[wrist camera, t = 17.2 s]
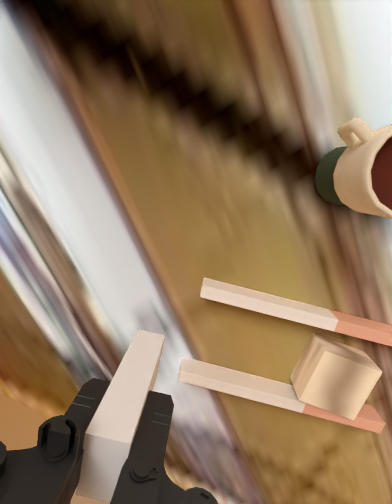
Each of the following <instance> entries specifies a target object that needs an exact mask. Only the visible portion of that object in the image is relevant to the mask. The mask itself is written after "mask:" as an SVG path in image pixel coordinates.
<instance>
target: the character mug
mask: <svg viewBox="0 0 392 504" xmlns="http://www.w3.org/2000/svg"><path fill="white" fill-rule="evenodd" d="M337 132H338V134H339V135H340V137H341V138H342V139H343V141H344V142H345V143H346V144H347V145H348V147H340V148H335V149H334V150H332V151H331V152H329V153H328V154H326V155H325V156H324V158H323V159H322V160H321V162H320V163H319V165H318V166H317V170H316V175H315V179H314V180H315V184H316V189H317V192H318V193H319V194H320V195H321V196H322V197H323V199H324V200H325V201H328V202H331V203H333V204H336V205H347V206H348V207H350V208H351V209H353V210H354V211H356V212H361V213H366V214H371V215H377V216H382V217H387V218H392V124H391V125H388V126H385V127H382V128H379V129H376V130H374V131H372V130H371V129H370V127H369V126H368V125H367V124H366V123H365V122H364V121H363V120H362V119H360V118H354V119H352V120H350V121H348V122H346V123H343V124H341V125H340V127H339V129H338V131H337Z"/></svg>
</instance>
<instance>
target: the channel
mask: <svg viewBox="0 0 392 504" xmlns="http://www.w3.org/2000/svg"><path fill="white" fill-rule="evenodd" d="M200 297H202V298H206V299H210V300H214V301H217V302H221V303H225V304H229V305H233V306H237V307H241V308H245V309H248V310H252V311H256V312H260V313H264V314H268V315H272V316H276V317H280V318H283V319H287V320H291V321H295V322H299V323H303V324H307V325H311V326H314V327H318V328H322V329H326V330H330V331H334V332H338V333H342V334H345V335H349V336H353V337H357V338H361V339H365V340H369V341H373V342H377V343H380V344H384V345H388V346H392V325H388V324H384V323H380V322H377V321H373V320H369V319H365V318H361V317H357V316H353V315H349V314H345V313H341V312H338V311H334V310H330V309H326V308H322V307H318V306H314V305H310V304H306V303H303V302H299V301H295V300H291V299H287V298H283V297H279V296H275V295H271V294H267V293H264V292H260V291H256V290H252V289H248V288H244V287H240V286H236V285H232V284H229V283H225V282H221V281H217V280H213V279H209V278H205V277H204V279H203V283H202V287H201V292H200ZM178 381H182V382H186V383H189V384H193V385H197V386H201V387H205V388H208V389H212V390H216V391H220V392H224V393H228V394H231V395H235V396H239V397H243V398H247V399H250V400H254V401H258V402H262V403H266V404H270V405H273V406H277V407H281V408H285V409H289V410H292V411H296V412H300V413H304V414H308V415H312V416H315V417H319V418H323V419H327V420H331V421H334V422H338V423H342V424H346V425H350V426H354V427H357V428H361V429H365V430H369V431H373V432H376V433H380V434H381V432H382V430H383V428H384V425H385V423H384V421H383V420H382V418H381V417H380V416H379V414H378V413H377V411H376V410H375V409H374V407H373V406H371V405H367V404H363V406H362V407H361V409H360V411H359V413H358V414H357V416H356V418H355V419H354V420H351V419H348V418H346V417H343V416H340V415H338V414H335V413H332V412H329V411H327V410H324V409H321V408H319V407H316V406H313V405H311V404H308V403H305V402H302V401H300V400H299V399H298V397H297V394H296V392H295V389H294V386H293V385H290V384H286V383H283V382H279V381H275V380H271V379H267V378H263V377H260V376H256V375H252V374H248V373H244V372H240V371H237V370H233V369H229V368H225V367H221V366H217V365H214V364H210V363H206V362H202V361H198V360H194V359H191V358H187V357H183V359H182V363H181V366H180V371H179V376H178Z"/></svg>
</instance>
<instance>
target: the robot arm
mask: <svg viewBox="0 0 392 504" xmlns="http://www.w3.org/2000/svg"><path fill="white" fill-rule="evenodd" d="M164 339H165V335H160V334H156V333H152V332H148V331H143V330H139V329H138V330H137V332H136V334H135V336H134V338H133V340H132V342H131V344H130V346H129V348H128V350H127V352H126V354H125V356H124V358H123V360H122V362H121V364H120V366H119V367H118V369H117V371H116V373H115V375H114V377H113V379H112V381H111V382H108V381H104V380H100V379H96V378H92V379H91V380H90V381H88V382H87V383H85V384H84V385H83V386H82V388H81V390H80V391H79V393H78V394H77V396H76V397H75V399H74V401H73V402H72V404H71V405H70V407H69V408H68V410H67V412H66V413H65V415H60V416H56V417H52V418H50V419H48V420H46V421H45V422H44V423H43V424H42V425H41V426H40V427H39V430H38V441H37V446H35V447H33V448H29V449H22V450H10V451H7V450H6V446H5V445H4V444H3V443H2V442H1V441H0V504H70V502H71V498H72V496H73V494H74V491H75V489H76V487H77V490H76V495H80V496H84V497H88V498H92V499H96V500H100V501H105V502H108V503H110V504H218V503H217V500H216V499H215V498H214V496H213V495H212V494H211V493H210V492H208V491H207V490H205V489H203V488H198V487H194V488H190V489H188V490H187V491H185V490H183V489H182V488H180V487H179V486H177V485H176V484H174V483H173V482H172V481H171V480H170V478H169V477H168V476H167V474H166V471H165V468H164V456H165V450H166V445H167V440H168V434H169V429H170V424H171V418H172V413H173V407H174V404H173V401H172V398H171V395H166V394H162V393H158V392H154V391H152V390H153V386H154V383H155V380H156V376H157V371H158V366H159V362H160V357H161V353H162V348H163V343H164Z"/></svg>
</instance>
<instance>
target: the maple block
mask: <svg viewBox="0 0 392 504" xmlns="http://www.w3.org/2000/svg"><path fill="white" fill-rule="evenodd" d="M381 374H382V371H381V370H380V369H379V368H378V367H377V365H376V364H375V363H374V362H373V361H372V360H371V359H370V358H369V356H368V355H367V354H366V353H365V352H364V351H361V350H359V349H356V348H353V347H351V346H348V345H345V344H343V343H340V342H337V341H335V340H332V339H329V338H327V337H324V336H321V335H318V334H316V333H312V335H311V337H310V339H309V341H308V343H307V345H306V347H305V349H304V351H303V353H302V355H301V357H300V359H299V360H298V362H297V364H296V366H295V368H294V370H293V372H292V374H291V376H290V379H291V381H292V384H293V386H294V389H295V392H296V394H297V397H298V399H299V400H300V401H302V402H305V403H308V404H311V405H313V406H316V407H319V408H321V409H324V410H327V411H329V412H332V413H335V414H338V415H340V416H343V417H346V418H348V419H351V420H354V419H355V418H356V416H357V414H358V413H359V411H360V409H361V407H362V406H363V404H364V402H365V401H366V399H367V397H368V396H369V394H370V392H371V391H372V389H373V387H374V386H375V384H376V382H377V381H378V379H379V377H380V376H381Z"/></svg>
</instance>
